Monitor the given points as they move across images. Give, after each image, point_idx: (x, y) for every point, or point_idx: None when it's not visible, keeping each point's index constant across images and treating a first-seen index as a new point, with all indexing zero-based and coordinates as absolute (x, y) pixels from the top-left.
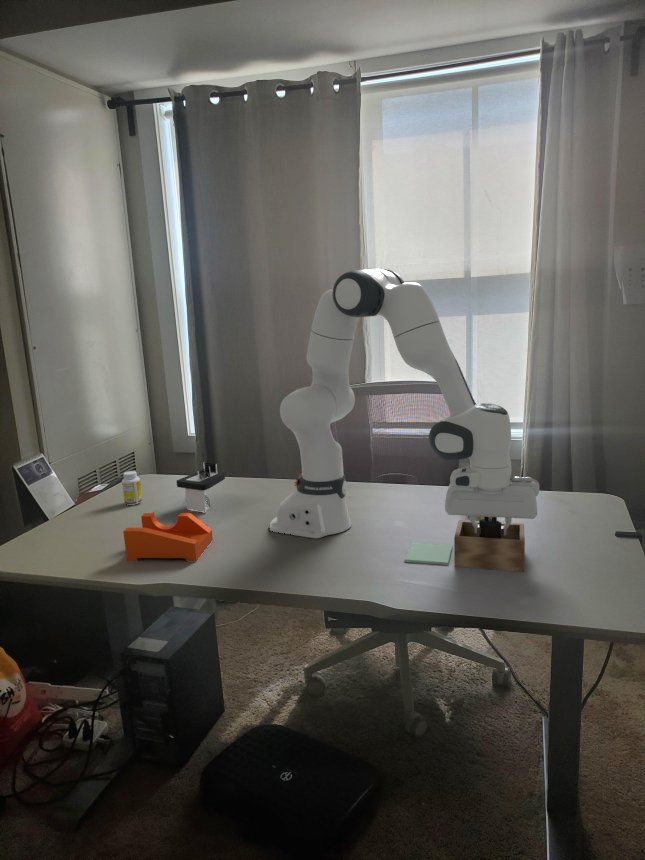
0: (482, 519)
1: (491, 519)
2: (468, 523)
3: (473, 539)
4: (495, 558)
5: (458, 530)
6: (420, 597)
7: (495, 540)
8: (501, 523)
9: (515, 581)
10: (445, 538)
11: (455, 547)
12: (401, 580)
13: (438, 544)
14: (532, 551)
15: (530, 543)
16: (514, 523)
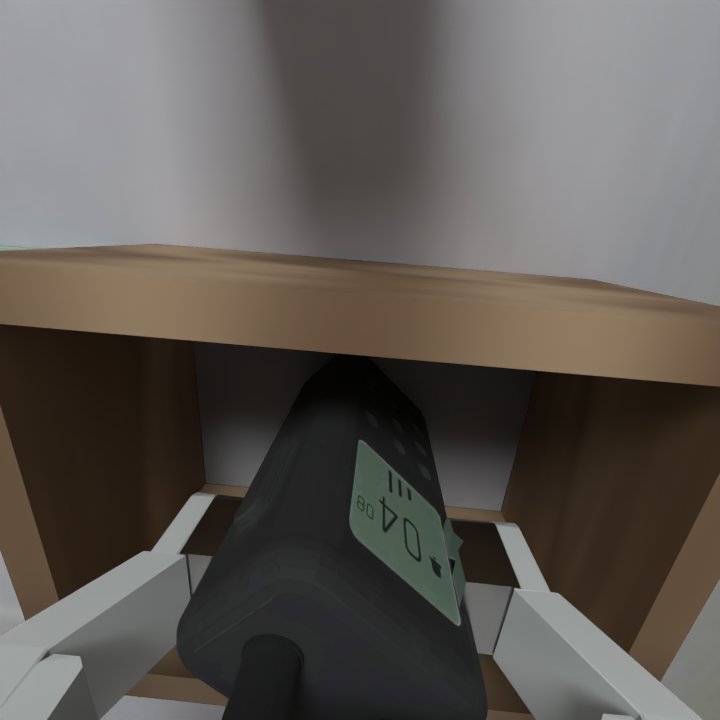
0: (211, 650)
1: (353, 658)
2: (71, 324)
3: (208, 696)
4: None
5: (29, 568)
6: (122, 700)
7: None
8: (511, 347)
9: None
10: (13, 57)
11: None
12: (10, 613)
13: (5, 249)
14: (656, 267)
15: (703, 96)
16: (707, 339)
